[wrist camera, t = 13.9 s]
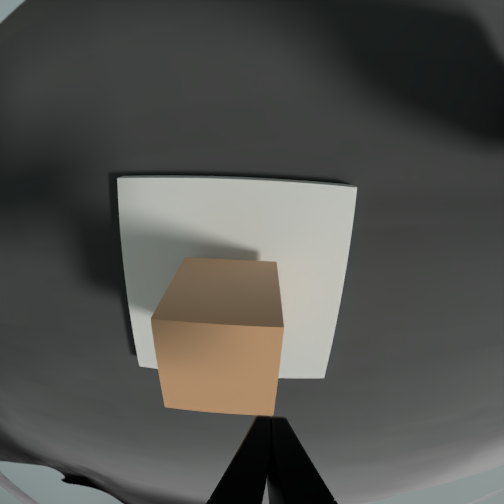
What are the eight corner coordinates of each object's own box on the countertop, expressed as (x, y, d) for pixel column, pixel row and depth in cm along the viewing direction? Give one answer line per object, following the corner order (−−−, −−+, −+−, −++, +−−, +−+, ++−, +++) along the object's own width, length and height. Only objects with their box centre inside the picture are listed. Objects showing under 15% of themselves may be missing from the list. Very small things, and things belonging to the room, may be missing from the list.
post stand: (352, 184, 19) (408, 219, 11) (322, 369, 24) (339, 451, 16) (123, 175, 19) (51, 204, 11) (142, 358, 24) (109, 433, 16)
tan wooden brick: (276, 261, 18) (284, 327, 12) (270, 337, 20) (273, 415, 14) (184, 257, 18) (150, 318, 12) (188, 332, 20) (164, 406, 14)
